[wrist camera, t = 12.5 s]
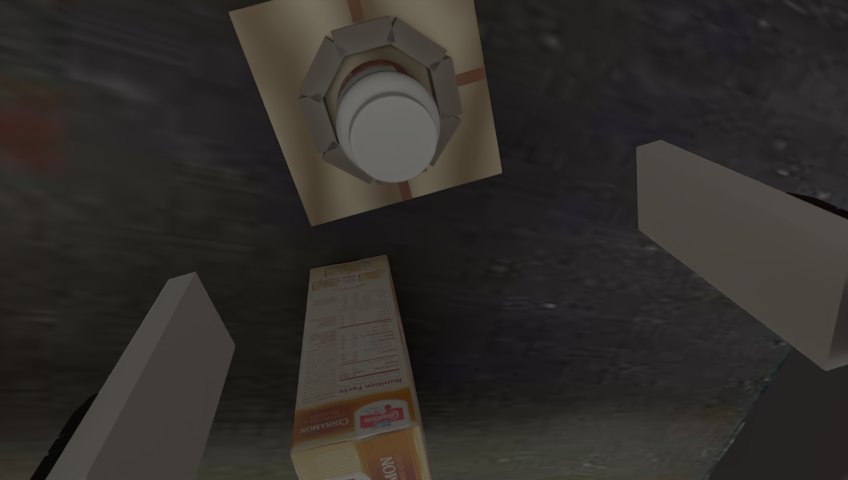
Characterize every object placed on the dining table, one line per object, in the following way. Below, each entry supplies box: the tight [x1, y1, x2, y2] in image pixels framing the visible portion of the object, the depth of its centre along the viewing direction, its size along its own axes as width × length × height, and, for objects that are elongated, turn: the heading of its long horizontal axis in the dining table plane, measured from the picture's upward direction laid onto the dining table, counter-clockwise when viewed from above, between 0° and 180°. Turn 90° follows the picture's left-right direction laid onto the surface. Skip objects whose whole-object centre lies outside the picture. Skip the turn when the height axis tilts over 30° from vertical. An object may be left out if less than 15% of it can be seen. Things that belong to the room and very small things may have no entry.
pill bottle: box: [336, 60, 440, 182], centre depth 30 cm, size 6×6×11 cm
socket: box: [229, 0, 502, 226], centre depth 35 cm, size 16×16×3 cm
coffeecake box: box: [290, 255, 433, 480], centre depth 36 cm, size 15×7×20 cm, turn 8°
